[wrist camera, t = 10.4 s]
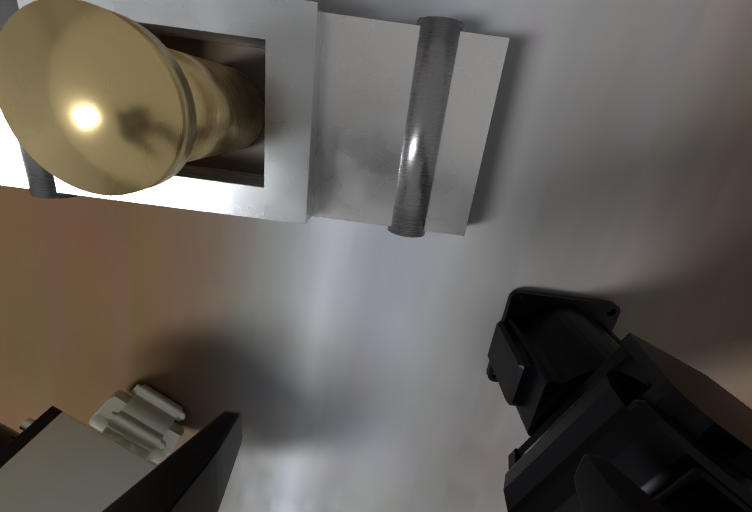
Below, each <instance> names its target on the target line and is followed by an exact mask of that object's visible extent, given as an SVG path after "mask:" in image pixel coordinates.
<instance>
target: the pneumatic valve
mask: <svg viewBox="0 0 752 512" xmlns="http://www.w3.org/2000/svg"><path fill="white" fill-rule="evenodd" d="M131 392H132V393H134V396H133V397H132V396H131V395H129V394H127V393H126V392H124V391H122V390H118V391H116V392H115V393H114V394H113V395H112V396H111V397H110V398H109V399H108V400H107V401H106V402H105V403H104V404H103V405H102V406H101V407H100V409H99V410H98V411H97V412H96V413H95V414H94V415H93V417H92V418H91V419H90V421H89V425H91V426H93V427H94V428H96V429H98V430H100V431H101V433H100V432H98V431H96V430H94V429H93V428H91V427H89V426H87V425H86V424H84V423H82V422H80V421H79V420H77V419H75V418H73V417H72V416H70V415H68V414H66V413H65V412H63V411H61V410H59V409H58V408H56V407H54V406H52V407H51V408H49V409H48V410H47V411H46V412H45V413H44V414H42V415H41V416H40V417H39V418H38V419H37V420H36V421H35V420H33V419H31V418H29V419H27V420H26V421H25V422H24V423H23V424H22V425H21V426H20V427H19V428H20V429H22V430H23V432H22V433H21V434H20V433H18V432H17V431H15V430H13V429H11V428H9V427H7V426H5V425H4V424H2V423H0V512H102V511H103V510H104V509H105V508H107V507H108V506H109V505H110V504H112V503H113V502H114V501H115V500H116V499H118V498H119V497H120V496H121V495H122V494H124V493H125V492H126V491H127V490H129V489H130V488H131V487H132V486H133V485H135V484H136V483H137V482H138V481H140V480H141V479H142V478H143V477H144V476H146V475H147V474H148V473H149V472H151V471H152V470H153V469H154V468H155V467H157V465H156V464H154V463H152V462H150V461H149V460H147V459H146V457H147V458H148V459H150V460H152V461H154V462H155V463H160V462H162V461H163V460H164V459H165V458H166V457H167V456H168V455H169V453H170V452H171V451H172V450H173V448H174V447H175V446H176V444H177V443H178V441H179V440H180V438H181V437H182V435H183V433H184V428H183V427H181V426H180V425H178V424H176V423H175V422H174V421H175V420H178V421H181V420H184V419H185V417H186V416H185V414H186V413H185V412H184V411H183V407H181V406H180V405H178V404H176V403H175V402H173V401H172V400H170V399H168V398H167V397H165V396H164V395H162V394H161V393H159V392H157V391H156V390H154V389H152V388H151V387H149V386H148V385H146V384H144V385H140V384H137V386H136V387H135V388H134V389H133V390H132V391H131ZM140 402H141V403H140Z"/></svg>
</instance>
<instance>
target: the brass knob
mask: <svg viewBox="0 0 752 512" xmlns="http://www.w3.org/2000/svg"><path fill="white" fill-rule="evenodd" d="M0 108H1V111H2V113H3V115H4V118H5V120H6V122H7V124H8V125H9V127H10V129H11V131H12V133H13V134H14V136H15V137H16V138H17V140H18V141H19V143H20V144H21V145H22V147H23V148H24V149H25V150H26V151H27V153H28V154H29V155H30V156H31V157H32V158H33V159H34V160H35V161H36V162H37V163H38V164H39V165H40V166H42V167H43V168H44V169H45V170H46V171H48V172H49V173H50V174H52V175H53V176H55V177H56V178H58V179H59V180H61V181H63V182H65V183H66V184H68V185H70V186H72V187H75V188H77V189H79V190H82V191H86V192H89V193H92V194H98V195H105V196H121V195H127V194H132V193H135V192H139V191H142V190H145V189H148V188H152V187H155V186H157V185H160V184H162V183H164V182H166V181H168V180H169V179H171V178H172V177H173V176H174V175H176V174H177V173H178V172H179V171H180V170H181V168H182V167H183V166H184V165H185V163H186V162H189V161H193V160H198V159H202V158H206V157H210V156H214V155H219V154H223V153H227V152H231V151H235V150H240V149H243V148H246V147H247V146H249V145H251V144H252V143H253V142H254V141H255V140H256V139H257V138H258V137H259V135H260V133H261V131H262V129H263V126H264V122H265V107H264V102H263V99H262V96H261V94H260V92H259V90H258V88H257V87H256V85H255V84H254V83H253V81H252V80H251V79H250V78H249V77H248V76H246V75H245V74H244V73H242V72H241V71H239V70H237V69H235V68H232V67H229V66H226V65H222V64H219V63H216V62H212V61H209V60H206V59H202V58H199V57H196V56H192V55H189V54H186V53H182V52H179V51H175V50H172V49H169V48H167V47H166V46H165V45H164V44H163V43H162V42H161V41H160V40H159V39H158V38H157V37H156V36H155V35H153V34H152V33H151V32H150V31H149V30H147V29H146V28H145V27H143V26H142V25H140V24H139V23H137V22H136V21H134V20H132V19H130V18H128V17H126V16H124V15H121V14H118V13H116V12H113V11H110V10H108V9H105V8H102V7H99V6H97V5H94V4H91V3H88V2H86V1H83V0H37V1H33V2H31V3H29V4H27V5H25V6H23V7H22V8H20V9H19V10H18V11H16V12H15V13H14V14H13V15H12V16H11V17H10V18H9V19H8V21H7V22H6V23H5V25H4V26H3V28H2V30H1V31H0Z"/></svg>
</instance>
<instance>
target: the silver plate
mask: <svg viewBox="0 0 752 512" xmlns="http://www.w3.org/2000/svg"><path fill="white" fill-rule="evenodd" d="M33 1H37V0H0V31H1V30H2V28H3V26H4V25H5V23H6V22H7V21H8V19H9V18H10V17H11V16H12V15H13V14H14V13H15V12H16V11H18V10H19V9H20V8H22V7H23V6H25V5H27V4H29V3H31V2H33ZM83 1H86V2H88V3H91V4H94V5H97V6H99V7H102V8H105V9H108V10H110V11H113V12H116V13H118V14H121V15H124V16H126V17H128V18H130V19H132V20H134V21H136V22H137V23H139V24H140V25H142V26H143V27H145V28H146V29H147V30H149V31H150V32H151V33H152V34H153V35H155V36H156V37H157V38H158V39H159V40H160V41H161V39H160V34H161V35H168V36H176V37H183V38H190V39H197V40H205V41H212V42H219V43H227V44H234V45H241V46H249V47H256V48H263V49H266V52H265V167H264V175H262V174H254V173H246V172H239V171H231V170H224V169H216V168H208V167H201V166H193V165H186V164H185V165H184V166H183V167H182V168H181V170H180V171H179V172H178V173H177V174H176V175H174V176H173V177H172V178H171V179H169V180H168V181H166V182H164V183H162V184H160V185H157V186H155V187H152V188H148V189H145V190H142V191H139V192H135V193H132V194H127V195H121V196H105V195H98V194H92V193H89V192H86V191H82V190H79V189H77V188H75V187H72V186H70V185H68V184H66V183H65V182H63V181H61V180H59V179H58V178H56V177H55V176H53V175H52V174H50V173H49V172H48V171H46V170H45V169H44V168H43V167H42V166H40V165H39V164H38V163H37V162H36V161H35V160H34V159H33V158H32V157H31V156H30V155H29V154H28V153H27V151H26V150H25V149H24V148H23V147H22V145H21V144H20V143H19V141H18V140H17V138H16V137H15V136H14V134H13V133H12V131H11V129H10V127H9V125H8V124H7V122H6V120H5V118H4V115H3V113H2V111H1V108H0V185H6V186H14V187H21V188H29V190H30V195H31V196H34V197H39V198H69V197H76V196H80V195H83V196H91V197H99V198H106V199H114V200H122V201H129V202H137V203H145V204H153V205H160V206H168V207H176V208H184V209H191V210H199V211H207V212H214V213H222V214H230V215H238V216H245V217H253V218H261V219H269V220H276V221H284V222H292V223H299V224H306V223H307V222H308V221H309V219H310V218H311V217H312V216H316V217H323V218H331V219H339V220H346V221H354V222H362V223H370V224H377V225H385V226H388V230H389V231H390V232H391V233H394V234H396V235H400V236H404V237H422V236H424V234H425V231H431V232H439V233H447V234H454V235H462V236H464V235H465V231H466V226H467V222H468V218H469V213H470V209H471V205H472V200H473V196H474V192H475V187H476V183H477V178H478V174H479V170H480V165H481V161H482V157H483V152H484V148H485V143H486V139H487V135H488V130H489V126H490V122H491V117H492V113H493V109H494V104H495V100H496V95H497V91H498V87H499V82H500V78H501V74H502V69H503V65H504V61H505V56H506V52H507V47H508V43H509V39H510V38H505V37H498V36H491V35H484V34H476V33H469V32H462V29H463V24H462V23H461V22H459V21H457V20H454V19H450V18H444V17H422V18H419V19H418V20H417V25H412V24H405V23H397V22H390V21H383V20H376V19H369V18H361V17H354V16H347V15H340V14H333V13H325V12H324V11H323V10H322V8H321V7H320V5H319V3H318V2H314V1H306V0H83Z"/></svg>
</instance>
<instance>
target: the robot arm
mask: <svg viewBox="0 0 752 512" xmlns="http://www.w3.org/2000/svg"><path fill="white" fill-rule="evenodd" d="M517 297H521V299H520V300H519V301H515V299H516V298H517ZM609 309H612V310H611V311H610V312H607V311H608V310H609ZM619 314H620V308H619V307H618V306H617V305H616V304H615V303H613V302H610V301H603V300H595V299H587V298H579V297H571V296H563V295H556V294H548V293H540V292H532V291H524V290H515V291H512V292H511V293H510V295H509V297H508V300H507V303H506V307H505V310H504V314H503V317H502V320H501V321H499V322H498V323H497V325H496V329H495V332H494V335H493V339H492V342H491V346H490V349H489V353H488V358H489V360H490V361H489V364H488V367H487V375H488V378H489V379H490V380H491V381H494V382H499V385H500V387H501V390H502V392H503V395H504V397H505V400H506V401H507V402H508V404H509V405H513V406H516V408H517V410H518V413H519V415H520V417H521V419H522V422H523V424H524V426H525V429H526V431H527V433H528V435H529V436H531V437H530V438H529V439H528V440H527V441H526V442H525V443H524V444H523V445H522V446H521V447H520V448H519V449H517V448H516V449H514V450H513V451H512V452H511V454H510V455H509V471H508V472H507V473H506V475H505V483H504V495H505V500H506V505H507V510H508V512H752V409H750V408H749V407H748V406H746V405H745V404H744V403H742V402H741V401H740V400H738V399H737V398H736V397H734V396H733V395H732V394H731V393H729V392H728V391H727V390H725V389H724V388H723V387H721V386H720V385H719V384H717V383H716V382H715V381H713V380H712V379H711V378H709V377H708V376H706V375H705V374H703V373H701V372H699V371H698V370H696V369H694V368H692V367H690V366H689V365H687V364H685V363H683V362H682V361H680V360H678V359H676V358H674V357H673V356H671V355H669V354H667V353H665V352H664V351H662V350H660V349H658V348H656V347H655V346H653V345H651V344H649V343H648V342H646V341H644V340H642V339H640V338H639V337H637V336H635V335H633V334H631V333H629V334H628V335H627V336H626V337H625V338H624V339H623V340H622V341H621V340H620V339H619V338H618V337H617V336H616V335H615V334H614V333H612V330H613V327H614V325H615V323H616V321H617V318H618V316H619ZM493 373H495V374H493ZM241 442H242V414H241V413H240V412H236V411H224V412H223V413H221V414H220V415H219V416H218V417H216V418H215V419H214V420H213V421H212V422H210V423H209V424H208V425H207V426H205V427H204V428H203V429H202V430H201V431H199V432H198V433H197V434H196V435H195V436H193V437H192V438H191V439H190V440H188V441H187V442H186V443H185V444H184V445H182V446H181V447H180V448H179V449H177V450H176V451H175V452H174V453H173V454H171V455H170V456H169V457H168V458H166V459H165V460H164V461H163V462H162V463H160V464H159V465H158V466H157V467H155V468H154V469H153V470H152V471H151V472H149V473H148V474H147V475H146V476H144V477H143V478H142V479H141V480H140V481H138V482H137V483H136V484H135V485H133V486H132V487H131V488H130V489H129V490H127V491H126V492H125V493H124V494H122V495H121V496H120V497H119V498H118V499H116V500H115V501H114V502H113V503H112V504H110V505H109V506H108V507H107V508H105V509H104V510H103V511H102V512H218V510H219V507H220V504H221V501H222V499H223V496H224V493H225V490H226V487H227V484H228V481H229V478H230V475H231V472H232V469H233V466H234V463H235V460H236V457H237V454H238V451H239V448H240V445H241Z"/></svg>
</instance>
